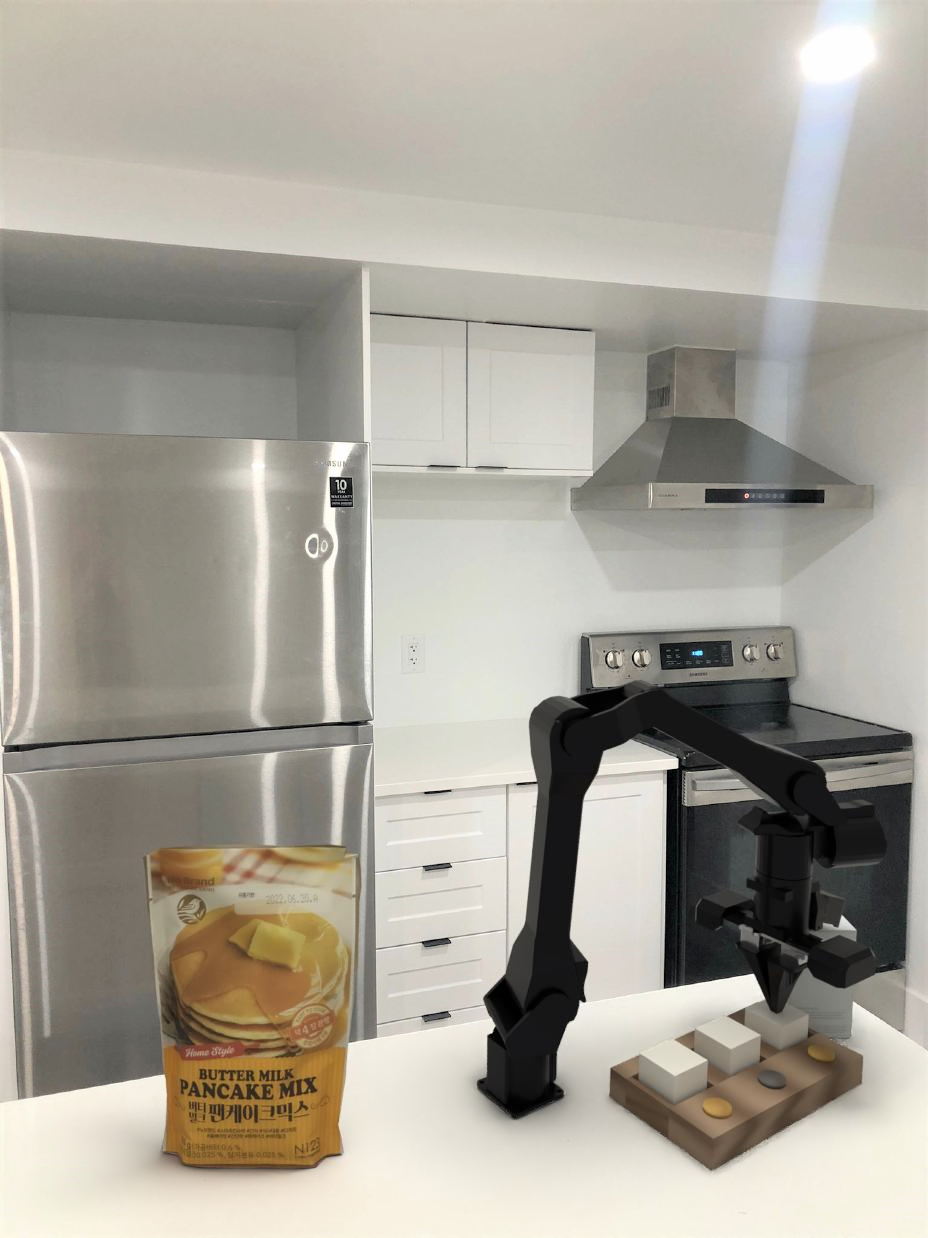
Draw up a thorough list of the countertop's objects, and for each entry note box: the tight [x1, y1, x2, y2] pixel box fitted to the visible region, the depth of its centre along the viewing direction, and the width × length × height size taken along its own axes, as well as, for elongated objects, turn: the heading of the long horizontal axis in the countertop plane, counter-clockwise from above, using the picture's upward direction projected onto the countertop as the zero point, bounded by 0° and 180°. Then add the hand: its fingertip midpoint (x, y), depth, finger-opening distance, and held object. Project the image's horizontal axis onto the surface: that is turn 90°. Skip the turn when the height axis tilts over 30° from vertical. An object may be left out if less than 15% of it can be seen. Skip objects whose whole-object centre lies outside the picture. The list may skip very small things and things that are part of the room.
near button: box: [638, 1038, 708, 1106], centre depth 91 cm, size 5×5×3 cm
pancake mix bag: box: [142, 843, 362, 1170], centre depth 84 cm, size 7×19×28 cm, turn 90°
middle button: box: [694, 1014, 761, 1077], centre depth 96 cm, size 5×5×3 cm
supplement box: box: [787, 915, 858, 1039], centre depth 108 cm, size 7×7×13 cm
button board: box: [609, 1001, 864, 1171], centre depth 95 cm, size 23×13×3 cm, turn 125°
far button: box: [744, 999, 809, 1051], centre depth 100 cm, size 5×5×3 cm
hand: (776, 1011), depth 100 cm, fingers closed, pressing on far button
